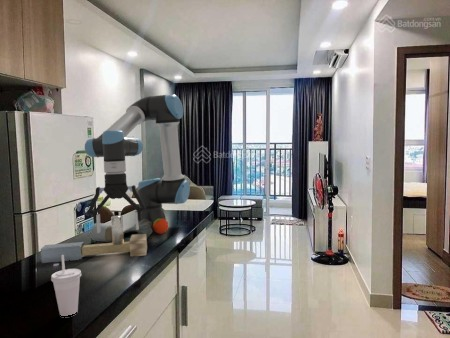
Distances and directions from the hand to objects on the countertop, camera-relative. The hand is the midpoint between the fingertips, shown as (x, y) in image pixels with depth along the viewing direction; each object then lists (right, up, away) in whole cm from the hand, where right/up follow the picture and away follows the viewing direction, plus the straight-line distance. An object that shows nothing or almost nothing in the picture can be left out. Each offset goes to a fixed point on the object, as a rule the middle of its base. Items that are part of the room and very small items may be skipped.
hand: (118, 230), depth 123 cm
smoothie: (+3, -11, -45) cm, 46 cm away
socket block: (+7, -8, +2) cm, 11 cm away
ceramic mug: (-12, -8, +21) cm, 25 cm away
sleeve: (-19, -10, -3) cm, 21 cm away
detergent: (+2, -8, +23) cm, 24 cm away
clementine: (+10, -7, +29) cm, 31 cm away
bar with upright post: (-4, -8, 0) cm, 9 cm away
